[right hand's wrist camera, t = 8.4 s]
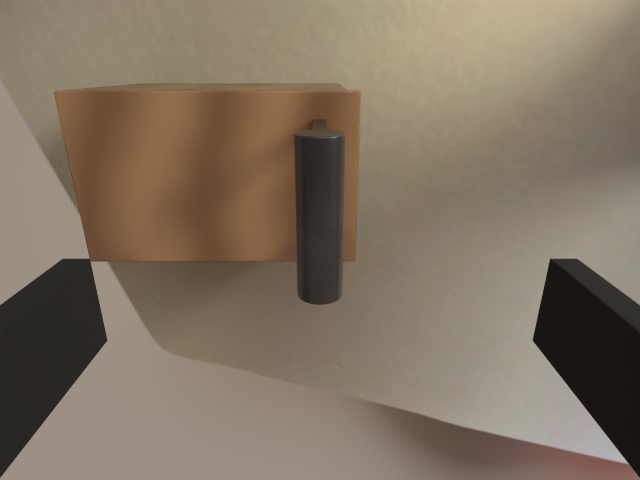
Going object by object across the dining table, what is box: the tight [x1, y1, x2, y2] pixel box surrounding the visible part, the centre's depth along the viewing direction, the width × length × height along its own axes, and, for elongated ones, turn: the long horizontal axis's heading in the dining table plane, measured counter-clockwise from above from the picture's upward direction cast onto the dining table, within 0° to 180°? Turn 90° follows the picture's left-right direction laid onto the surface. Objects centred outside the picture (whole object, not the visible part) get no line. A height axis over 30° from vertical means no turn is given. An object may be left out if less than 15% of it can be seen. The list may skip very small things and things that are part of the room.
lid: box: [54, 90, 361, 305], centre depth 22 cm, size 17×10×9 cm, turn 90°
